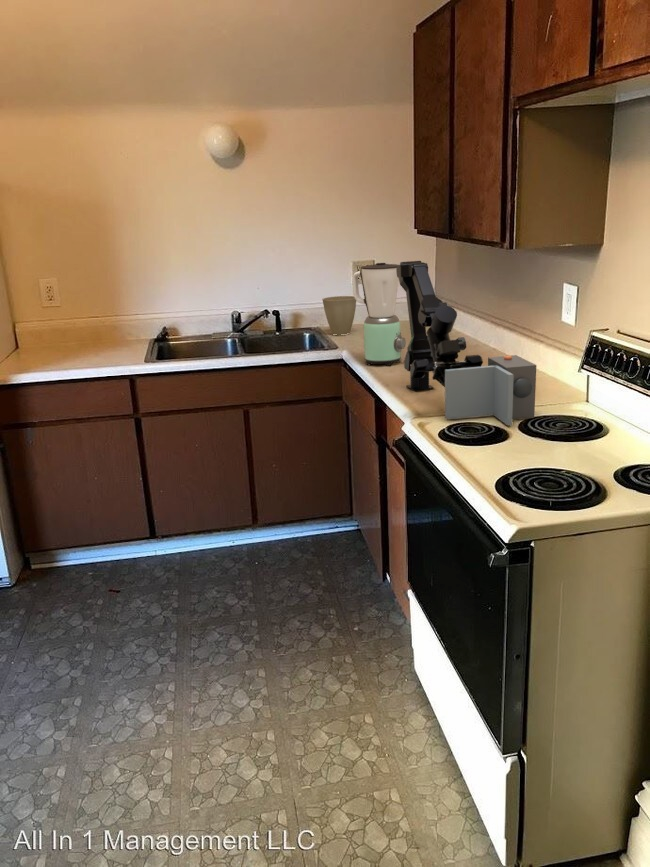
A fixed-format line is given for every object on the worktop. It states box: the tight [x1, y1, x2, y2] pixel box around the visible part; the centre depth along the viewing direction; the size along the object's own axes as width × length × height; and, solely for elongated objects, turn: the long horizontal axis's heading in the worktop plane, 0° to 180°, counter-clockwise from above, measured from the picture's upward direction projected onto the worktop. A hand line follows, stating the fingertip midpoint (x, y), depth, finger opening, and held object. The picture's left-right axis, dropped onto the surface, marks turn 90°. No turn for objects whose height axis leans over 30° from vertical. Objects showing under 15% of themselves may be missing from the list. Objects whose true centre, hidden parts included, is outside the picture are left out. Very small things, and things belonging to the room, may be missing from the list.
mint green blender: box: [352, 262, 407, 367], centre depth 252 cm, size 19×13×35 cm
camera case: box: [487, 354, 537, 421], centre depth 189 cm, size 14×8×15 cm, turn 8°
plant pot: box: [322, 295, 357, 335], centre depth 313 cm, size 15×15×16 cm
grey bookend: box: [444, 365, 514, 426], centre depth 182 cm, size 12×14×13 cm
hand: (453, 393), depth 188 cm, fingers closed
